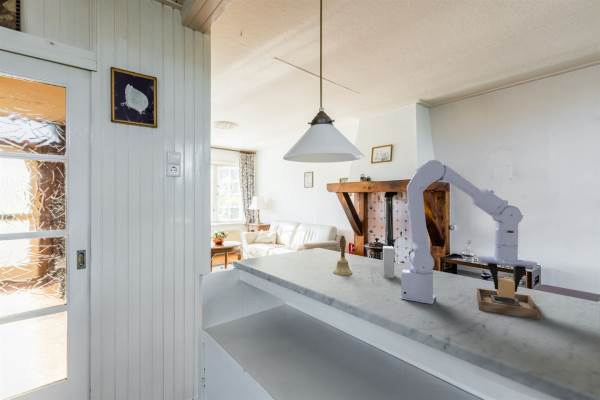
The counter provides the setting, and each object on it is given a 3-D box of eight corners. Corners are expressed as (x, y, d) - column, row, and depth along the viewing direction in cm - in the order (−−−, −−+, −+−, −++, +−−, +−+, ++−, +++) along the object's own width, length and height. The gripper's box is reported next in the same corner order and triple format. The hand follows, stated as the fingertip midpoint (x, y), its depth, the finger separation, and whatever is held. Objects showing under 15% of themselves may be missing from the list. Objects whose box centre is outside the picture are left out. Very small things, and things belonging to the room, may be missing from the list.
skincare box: (394, 278, 117) (394, 248, 117) (383, 277, 118) (383, 248, 118) (392, 274, 123) (393, 246, 123) (382, 273, 124) (382, 245, 124)
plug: (498, 295, 87) (498, 280, 87) (496, 291, 90) (496, 277, 90) (514, 298, 85) (514, 282, 85) (512, 294, 88) (512, 279, 88)
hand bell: (353, 275, 121) (354, 237, 120) (333, 275, 121) (334, 236, 120) (350, 270, 129) (351, 234, 129) (331, 270, 129) (332, 234, 129)
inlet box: (478, 309, 85) (479, 301, 85) (476, 295, 97) (476, 288, 97) (539, 319, 78) (540, 310, 78) (529, 303, 91) (529, 295, 91)
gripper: (478, 244, 88) (477, 289, 88) (539, 249, 81) (539, 298, 81) (477, 241, 94) (476, 283, 94) (534, 245, 87) (533, 290, 87)
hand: (505, 289), depth 88 cm, fingers closed on plug, 4 cm apart
